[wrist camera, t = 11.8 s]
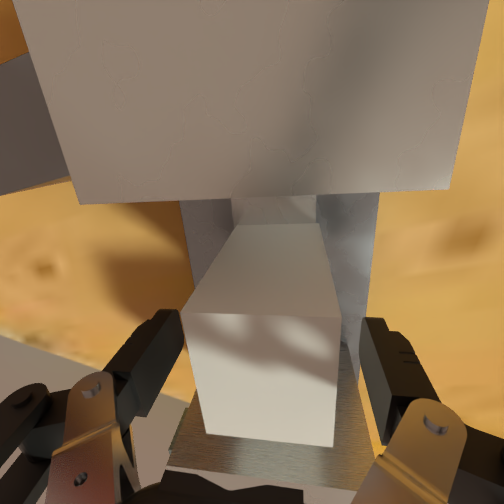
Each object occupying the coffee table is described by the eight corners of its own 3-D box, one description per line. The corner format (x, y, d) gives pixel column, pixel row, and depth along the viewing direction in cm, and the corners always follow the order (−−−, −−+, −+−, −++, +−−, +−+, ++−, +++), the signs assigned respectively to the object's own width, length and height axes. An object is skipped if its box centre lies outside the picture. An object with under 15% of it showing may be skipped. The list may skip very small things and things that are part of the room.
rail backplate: (162, 65, 15) (-39, -34, 6) (391, 35, 13) (599, -181, 4) (216, 377, 25) (169, 520, 16) (353, 388, 23) (391, 558, 14)
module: (232, 225, 17) (172, 312, 9) (318, 223, 16) (341, 317, 8) (241, 305, 19) (200, 432, 11) (316, 307, 18) (332, 447, 10)
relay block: (29, 104, 17) (-66, 93, 13) (110, 72, 16) (36, 48, 11) (67, 181, 19) (-5, 197, 15) (143, 160, 18) (90, 169, 13)
